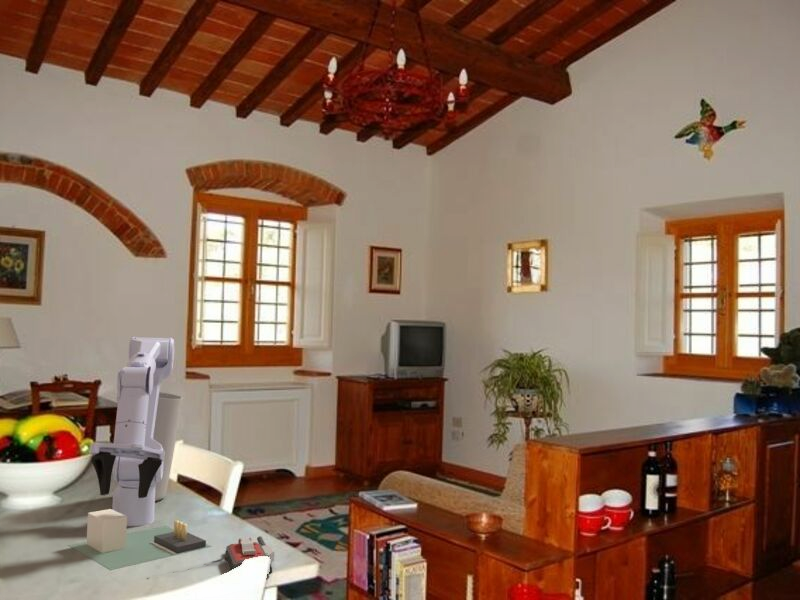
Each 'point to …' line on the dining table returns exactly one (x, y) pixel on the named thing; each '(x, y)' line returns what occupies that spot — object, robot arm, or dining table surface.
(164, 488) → the cylinder vase
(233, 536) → the dining table surface
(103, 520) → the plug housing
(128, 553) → the header board
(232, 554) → the walkie-talkie
